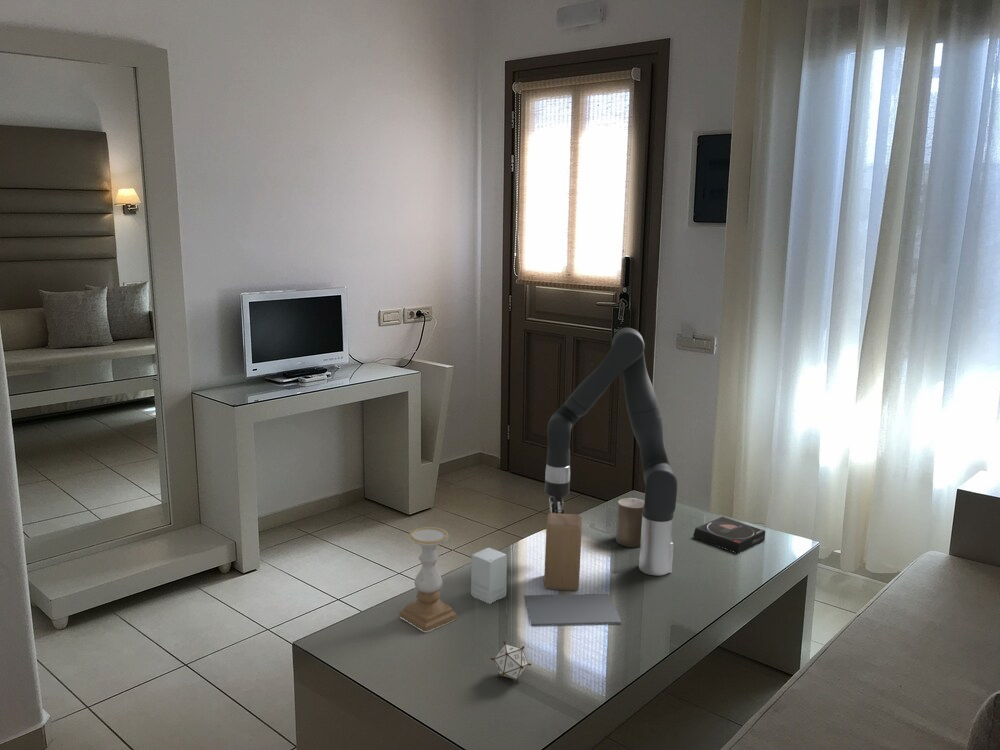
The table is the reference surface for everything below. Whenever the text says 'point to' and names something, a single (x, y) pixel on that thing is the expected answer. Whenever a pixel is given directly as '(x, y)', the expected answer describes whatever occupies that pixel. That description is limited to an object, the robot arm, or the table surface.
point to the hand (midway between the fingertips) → (555, 532)
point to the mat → (571, 609)
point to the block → (563, 551)
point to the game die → (510, 661)
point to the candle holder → (428, 583)
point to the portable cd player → (730, 534)
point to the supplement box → (489, 575)
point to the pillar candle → (629, 522)
